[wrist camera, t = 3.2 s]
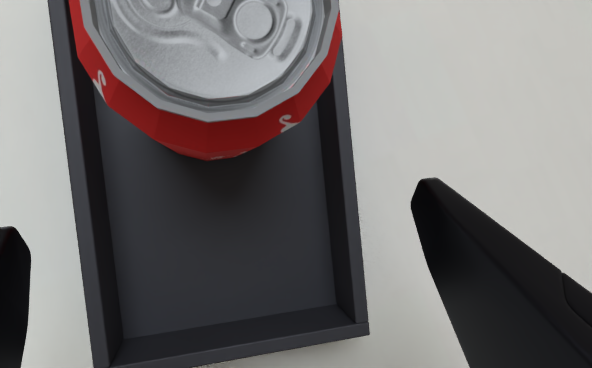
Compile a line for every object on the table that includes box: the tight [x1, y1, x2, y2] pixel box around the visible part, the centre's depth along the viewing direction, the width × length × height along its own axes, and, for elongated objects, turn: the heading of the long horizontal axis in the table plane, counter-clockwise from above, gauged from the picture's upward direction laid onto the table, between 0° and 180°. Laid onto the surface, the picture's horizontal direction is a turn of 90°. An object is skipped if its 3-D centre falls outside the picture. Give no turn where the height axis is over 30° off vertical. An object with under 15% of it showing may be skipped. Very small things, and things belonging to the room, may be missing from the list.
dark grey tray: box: [48, 0, 370, 368], centre depth 19 cm, size 16×11×3 cm
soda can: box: [69, 0, 342, 161], centre depth 15 cm, size 6×6×12 cm
